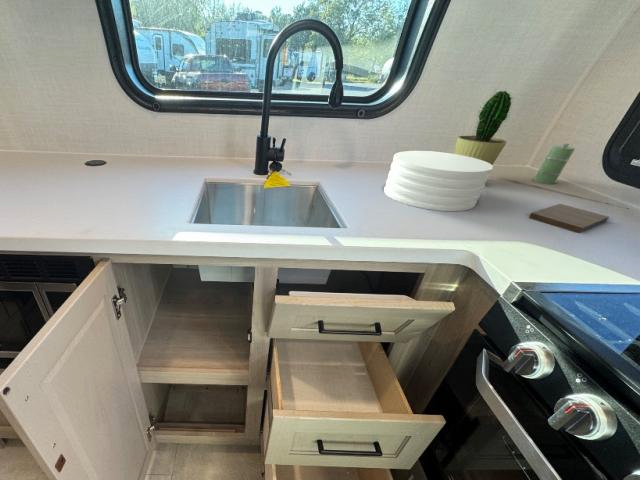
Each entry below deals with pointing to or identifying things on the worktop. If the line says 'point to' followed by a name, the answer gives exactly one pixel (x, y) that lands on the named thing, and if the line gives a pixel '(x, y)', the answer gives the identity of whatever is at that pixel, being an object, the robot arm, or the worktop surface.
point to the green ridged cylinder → (554, 164)
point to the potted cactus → (487, 130)
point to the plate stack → (436, 180)
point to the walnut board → (569, 217)
